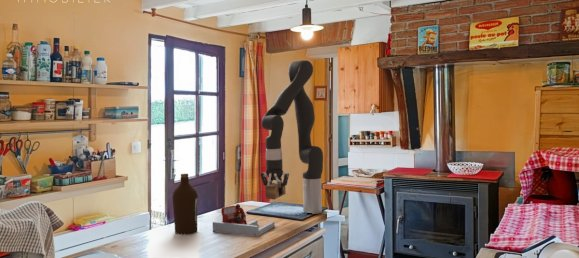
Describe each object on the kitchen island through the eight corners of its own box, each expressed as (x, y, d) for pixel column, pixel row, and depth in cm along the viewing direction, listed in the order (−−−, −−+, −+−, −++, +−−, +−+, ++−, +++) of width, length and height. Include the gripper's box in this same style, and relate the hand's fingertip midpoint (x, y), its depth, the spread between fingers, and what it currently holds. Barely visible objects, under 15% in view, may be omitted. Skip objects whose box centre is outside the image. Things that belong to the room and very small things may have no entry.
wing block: (277, 193, 220) (276, 180, 219) (285, 193, 218) (285, 181, 217) (265, 198, 209) (265, 185, 208) (274, 199, 207) (274, 186, 206)
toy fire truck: (250, 227, 205) (249, 204, 204) (227, 233, 196) (226, 208, 195) (240, 224, 210) (240, 201, 209) (218, 230, 201) (217, 206, 201)
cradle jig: (232, 222, 214) (232, 213, 213) (274, 226, 205) (274, 217, 205) (212, 231, 199) (212, 222, 198) (257, 236, 190) (256, 226, 190)
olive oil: (174, 236, 192) (172, 176, 191) (172, 229, 202) (171, 173, 201) (200, 233, 195) (198, 175, 194) (197, 227, 205) (195, 171, 204)
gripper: (291, 157, 212) (292, 194, 214) (263, 156, 218) (265, 192, 219) (284, 159, 206) (286, 197, 207) (256, 159, 211) (258, 195, 213)
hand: (275, 194), depth 213 cm, fingers closed on wing block, 4 cm apart
